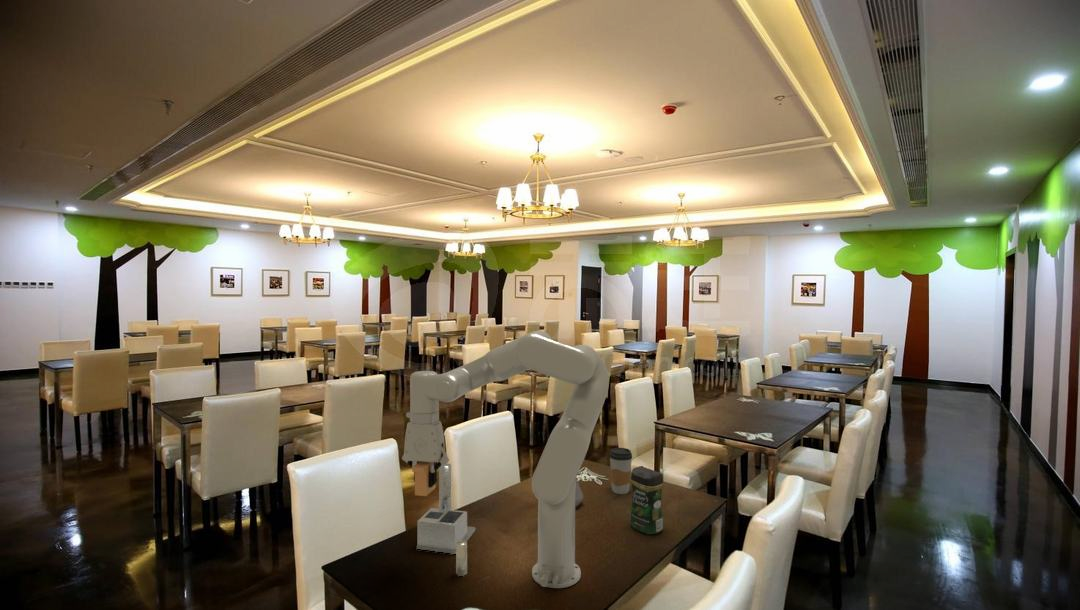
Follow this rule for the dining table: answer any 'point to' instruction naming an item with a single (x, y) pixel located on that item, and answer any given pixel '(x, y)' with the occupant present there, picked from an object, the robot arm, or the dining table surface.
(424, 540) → the pole on box base
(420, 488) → the tan rectangular block
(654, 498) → the coffee jar
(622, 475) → the coffee cup
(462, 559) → the pale grey cylinder
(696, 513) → the dining table surface
